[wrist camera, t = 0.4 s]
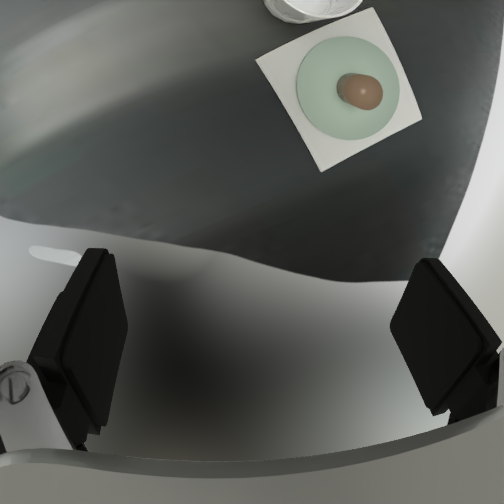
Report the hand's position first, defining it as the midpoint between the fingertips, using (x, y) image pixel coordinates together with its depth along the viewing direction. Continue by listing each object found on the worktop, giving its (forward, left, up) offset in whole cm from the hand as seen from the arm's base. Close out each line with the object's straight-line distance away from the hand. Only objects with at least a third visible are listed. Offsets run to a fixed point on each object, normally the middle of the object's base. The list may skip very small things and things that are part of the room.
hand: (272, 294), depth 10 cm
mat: (-13, +3, -28) cm, 31 cm away
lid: (-13, +3, -28) cm, 31 cm away
